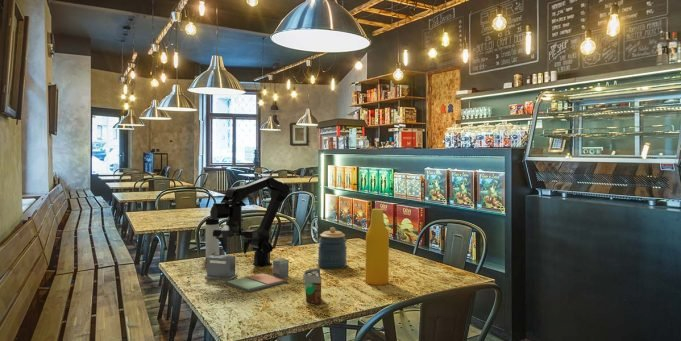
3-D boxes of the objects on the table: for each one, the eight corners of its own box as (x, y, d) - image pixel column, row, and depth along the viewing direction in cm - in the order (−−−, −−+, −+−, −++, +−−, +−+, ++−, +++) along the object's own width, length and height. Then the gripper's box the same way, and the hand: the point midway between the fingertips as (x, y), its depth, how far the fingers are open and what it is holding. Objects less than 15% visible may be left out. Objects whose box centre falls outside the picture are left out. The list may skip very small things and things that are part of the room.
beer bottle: (361, 280, 187) (362, 208, 186) (382, 278, 191) (383, 207, 189) (370, 286, 179) (371, 211, 178) (392, 284, 182) (393, 210, 181)
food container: (302, 295, 167) (302, 268, 166) (319, 295, 167) (319, 267, 167) (302, 307, 155) (302, 277, 154) (321, 306, 155) (321, 277, 155)
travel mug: (216, 260, 219) (216, 218, 218) (203, 259, 221) (203, 217, 220) (222, 257, 225) (221, 216, 225) (209, 256, 227) (209, 215, 226)
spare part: (281, 274, 195) (281, 258, 195) (288, 276, 192) (288, 259, 192) (272, 276, 192) (272, 259, 191) (279, 278, 189) (279, 261, 188)
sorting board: (262, 275, 194) (262, 272, 194) (287, 282, 183) (287, 280, 183) (224, 283, 181) (224, 281, 181) (248, 292, 170) (248, 289, 170)
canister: (314, 268, 206) (314, 228, 205) (322, 261, 218) (322, 224, 218) (343, 270, 203) (343, 230, 202) (349, 263, 215) (349, 225, 215)
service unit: (213, 274, 195) (213, 254, 194) (237, 276, 192) (237, 255, 192) (204, 278, 188) (204, 257, 188) (229, 280, 185) (229, 259, 185)
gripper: (205, 218, 195) (205, 255, 196) (246, 220, 191) (246, 258, 191) (218, 215, 206) (219, 250, 207) (257, 216, 201) (258, 252, 202)
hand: (235, 253), depth 201 cm, fingers open, 9 cm apart
